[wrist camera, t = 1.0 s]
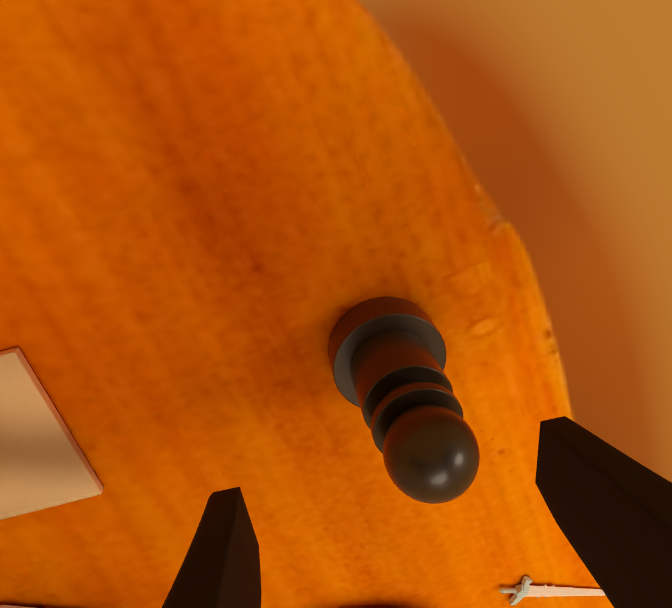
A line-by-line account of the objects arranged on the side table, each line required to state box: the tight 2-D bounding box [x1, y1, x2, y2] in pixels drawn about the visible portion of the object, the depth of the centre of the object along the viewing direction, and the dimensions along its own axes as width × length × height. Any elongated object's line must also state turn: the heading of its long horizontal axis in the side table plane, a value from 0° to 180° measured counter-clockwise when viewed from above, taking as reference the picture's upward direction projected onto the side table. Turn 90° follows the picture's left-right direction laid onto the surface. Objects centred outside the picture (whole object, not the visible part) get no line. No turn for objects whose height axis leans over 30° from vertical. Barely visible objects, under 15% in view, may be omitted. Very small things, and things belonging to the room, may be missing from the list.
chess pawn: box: [328, 297, 480, 504], centre depth 17 cm, size 5×5×8 cm
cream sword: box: [499, 576, 606, 605], centre depth 32 cm, size 2×10×1 cm, turn 72°
